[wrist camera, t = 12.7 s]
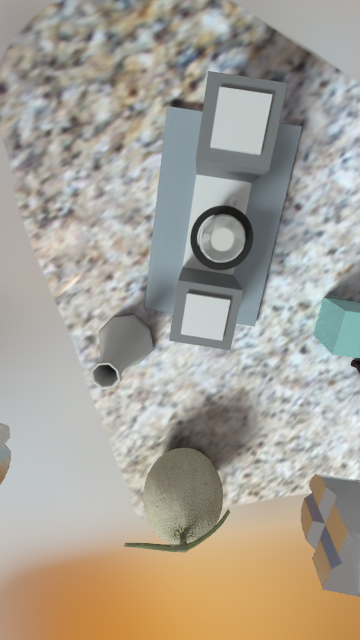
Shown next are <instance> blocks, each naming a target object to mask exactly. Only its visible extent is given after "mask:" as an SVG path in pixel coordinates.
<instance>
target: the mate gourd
mask: <svg viewBox="0 0 360 640" xmlns="http://www.w3.org/2000/svg"><path fill="white" fill-rule="evenodd" d="M351 366H352V367H355V368H357V370H358V372H359V373H360V361H356V360H353V361H352V362H351Z"/></svg>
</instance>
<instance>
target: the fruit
mask: <svg viewBox="0 0 360 640" xmlns="http://www.w3.org/2000/svg"><path fill="white" fill-rule="evenodd" d="M222 502H223V490H222V484H221V480H220V477H219V475H218V473H217V471H216V469H215V467H214V465H213V464H212V462H211V461H210V460H209V458H207V457H206V456H205V455H204V454H203V453H201V452H199V451H197V450H195V449H191V448H178V449H173V450H170V451H168V452H166V453H165V454H163V455H162V456H161V457H160V458H159V459H158V460H157V461H156V462H155V463H154V465H153V466H152V468H151V470H150V472H149V474H148V476H147V479H146V482H145V487H144V494H143V503H144V510H145V514H146V518H147V520H148V523H149V524H150V526H151V528H152V529H153V531H154V533H156V534H157V535H158V536H159V537H160V538H162V539H163V540H165V541H167V542H168V543H170V544H172V545H161V544H149V543H125V547H138V548H146V549H154V550H162V551H170V552H186V551H188V550H189V549H191V548H193V547H195V546H197V545H198V544H200V543H201V542H202V541H204V540H205V539H207V538H208V537H209V536H211V535H212V534H213V533H214V532H215V531H216V530H217V529H218V528H219V527H220V526H221V525H222V524H223V522H224V521H225V519H226V518H227V516H228V515H229V513H230V511H229V509H228V511H227V512H226V513H225V515H224V516H223V517H222V519H221V520H220V521H219V522H218V524H217V525H216V523H217V521H218V519H219V517H220V514H221V510H222ZM215 525H216V526H215Z"/></svg>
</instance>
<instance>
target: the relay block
mask: <svg viewBox="0 0 360 640" xmlns="http://www.w3.org/2000/svg"><path fill="white" fill-rule="evenodd" d="M313 335H314V336H315V337H316V338H317V339H318V340H319V341H320V342H321V343H322V344H323V345H324V346H325V347H326V348H327V349H328V350H329V351H330V352H331V353H332V354H335V355H342V356H349V357H356V358H360V302H354V301H347V300H339V299H332V298H325V297H324V298H323V302H322V305H321V309H320V312H319V316H318V320H317V323H316V327H315V330H314V334H313Z"/></svg>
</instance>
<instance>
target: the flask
mask: <svg viewBox="0 0 360 640" xmlns="http://www.w3.org/2000/svg"><path fill="white" fill-rule="evenodd" d="M99 339H100V354H101V355H100V359H99V362H97V363H96V364H95V365H94V366H93V367H92V368H91V369H90V375H91V378H92V382H93V383H95V384H96V385H97V386H98V387H99V388H100V389H111V388H114V387H115V386H116V385H117V384H118V383H119V382H120V381H121V380H122V378H121V374H122V372H123V371H124V370H126V369H128V368H130V367H132V366H134V365H137V364H139V363H140V362H141V361H142V360H143V359H144V358H146V357H147V356H148V355H149V354H150V353H151V352H152V351H153V350H154V347H153V342H152V337H151V331H150V329H149V328H148V327H147V326H146V325H145V324H144V323H142V322H141V321H140V320H139V319H138V318H137V317H136V316H135V315H128V316H120V317H113V318H112V319H111V320H110V321H109V322H108V323H107V324H106V325H105V326H104V327H103V328H102V329H101V330H100V331H99Z"/></svg>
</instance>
